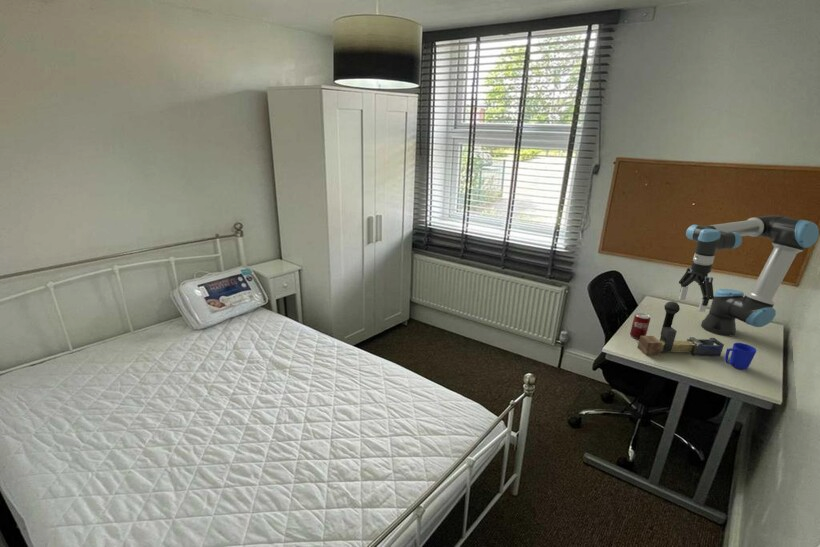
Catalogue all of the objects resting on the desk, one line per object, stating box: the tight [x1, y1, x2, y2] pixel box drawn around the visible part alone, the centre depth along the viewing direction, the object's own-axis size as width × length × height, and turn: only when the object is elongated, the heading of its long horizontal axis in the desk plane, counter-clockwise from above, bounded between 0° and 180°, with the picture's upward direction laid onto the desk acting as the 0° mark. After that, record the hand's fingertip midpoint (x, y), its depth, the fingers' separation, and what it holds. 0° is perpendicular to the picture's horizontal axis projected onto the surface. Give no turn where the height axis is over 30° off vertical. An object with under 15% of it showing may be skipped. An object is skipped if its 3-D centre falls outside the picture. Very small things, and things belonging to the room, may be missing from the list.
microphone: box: [660, 301, 681, 335], centre depth 204 cm, size 7×7×20 cm
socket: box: [637, 335, 662, 356], centre depth 192 cm, size 6×7×7 cm
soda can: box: [629, 312, 651, 340], centre depth 205 cm, size 7×7×12 cm
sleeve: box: [686, 336, 725, 357], centre depth 193 cm, size 13×7×6 cm, turn 91°
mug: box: [724, 342, 757, 370], centre depth 181 cm, size 8×12×10 cm
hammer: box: [659, 326, 697, 353], centre depth 191 cm, size 24×4×11 cm, turn 91°
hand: (691, 305), depth 189 cm, fingers open, 13 cm apart
